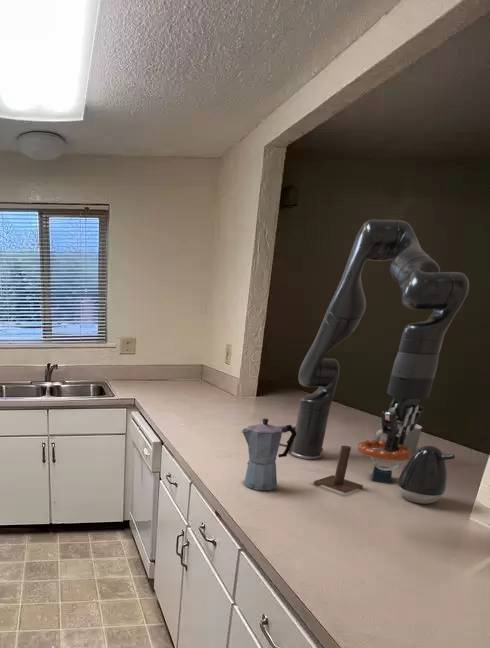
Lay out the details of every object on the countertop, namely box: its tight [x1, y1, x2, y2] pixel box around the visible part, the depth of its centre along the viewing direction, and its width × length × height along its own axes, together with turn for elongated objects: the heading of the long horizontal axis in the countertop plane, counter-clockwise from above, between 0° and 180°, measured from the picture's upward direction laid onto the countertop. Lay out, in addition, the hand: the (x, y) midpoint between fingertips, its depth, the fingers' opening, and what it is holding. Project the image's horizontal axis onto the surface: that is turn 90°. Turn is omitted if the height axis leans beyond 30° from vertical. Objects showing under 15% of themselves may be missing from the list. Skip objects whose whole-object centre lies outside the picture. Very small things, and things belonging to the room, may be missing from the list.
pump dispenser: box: [397, 445, 456, 505], centre depth 114 cm, size 10×10×15 cm
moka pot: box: [241, 418, 297, 491], centre depth 123 cm, size 10×15×20 cm, turn 95°
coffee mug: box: [374, 423, 423, 456], centre depth 153 cm, size 13×10×10 cm
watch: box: [370, 448, 403, 484], centre depth 129 cm, size 6×8×11 cm
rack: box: [313, 445, 364, 494], centre depth 123 cm, size 9×9×12 cm
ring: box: [357, 439, 412, 462], centre depth 96 cm, size 10×10×2 cm
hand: (393, 450), depth 98 cm, fingers closed on ring, 2 cm apart
